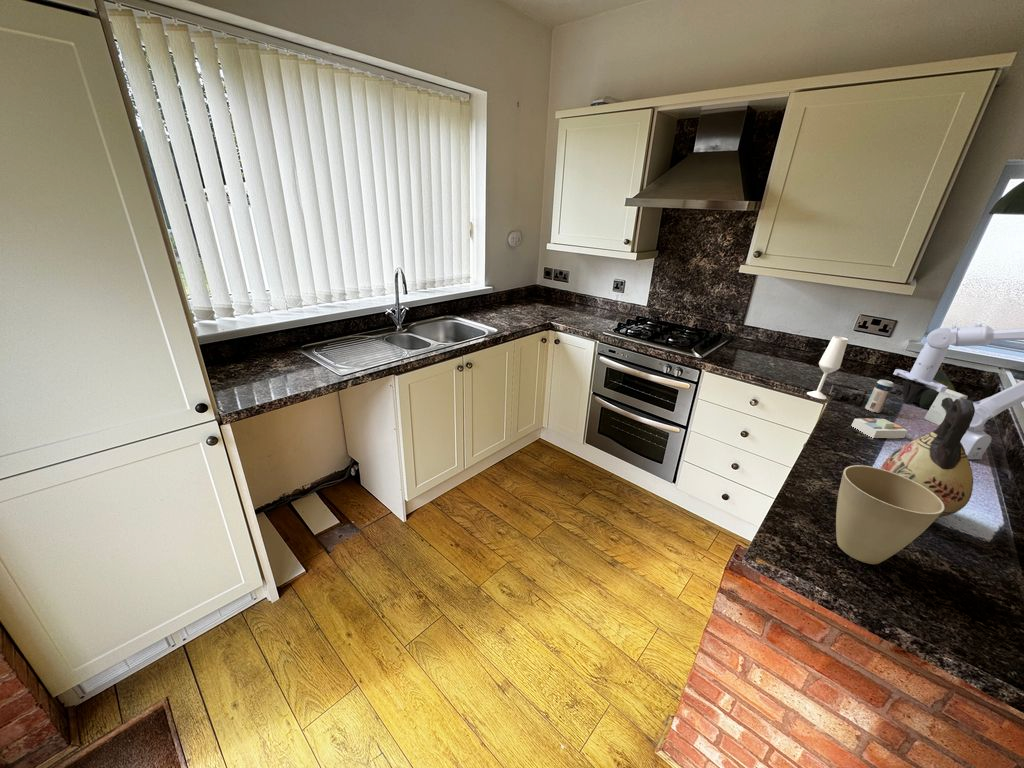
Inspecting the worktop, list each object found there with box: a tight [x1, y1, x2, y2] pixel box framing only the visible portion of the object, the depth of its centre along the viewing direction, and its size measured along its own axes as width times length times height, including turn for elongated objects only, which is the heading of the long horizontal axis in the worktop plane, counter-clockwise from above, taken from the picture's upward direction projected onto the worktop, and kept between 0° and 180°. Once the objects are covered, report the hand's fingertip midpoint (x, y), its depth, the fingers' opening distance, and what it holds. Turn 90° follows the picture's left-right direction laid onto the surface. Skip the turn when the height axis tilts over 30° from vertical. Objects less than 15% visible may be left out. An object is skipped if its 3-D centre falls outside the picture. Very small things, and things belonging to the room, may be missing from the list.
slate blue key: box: [865, 423, 882, 429], centre depth 135 cm, size 3×3×2 cm
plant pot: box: [835, 464, 944, 565], centre depth 82 cm, size 15×15×16 cm
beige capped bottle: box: [864, 378, 894, 414], centre depth 152 cm, size 5×5×12 cm
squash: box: [901, 370, 957, 409], centre depth 163 cm, size 14×15×15 cm
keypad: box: [850, 417, 909, 439], centre depth 137 cm, size 8×12×4 cm, turn 98°
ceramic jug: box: [879, 397, 975, 523], centre depth 93 cm, size 17×15×30 cm
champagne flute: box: [806, 335, 849, 400], centre depth 160 cm, size 7×7×24 cm
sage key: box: [876, 418, 895, 429], centre depth 135 cm, size 3×3×2 cm
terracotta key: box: [892, 422, 903, 429], centre depth 136 cm, size 3×3×2 cm
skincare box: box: [923, 389, 968, 426], centre depth 147 cm, size 6×4×12 cm
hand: (907, 402), depth 137 cm, fingers closed
